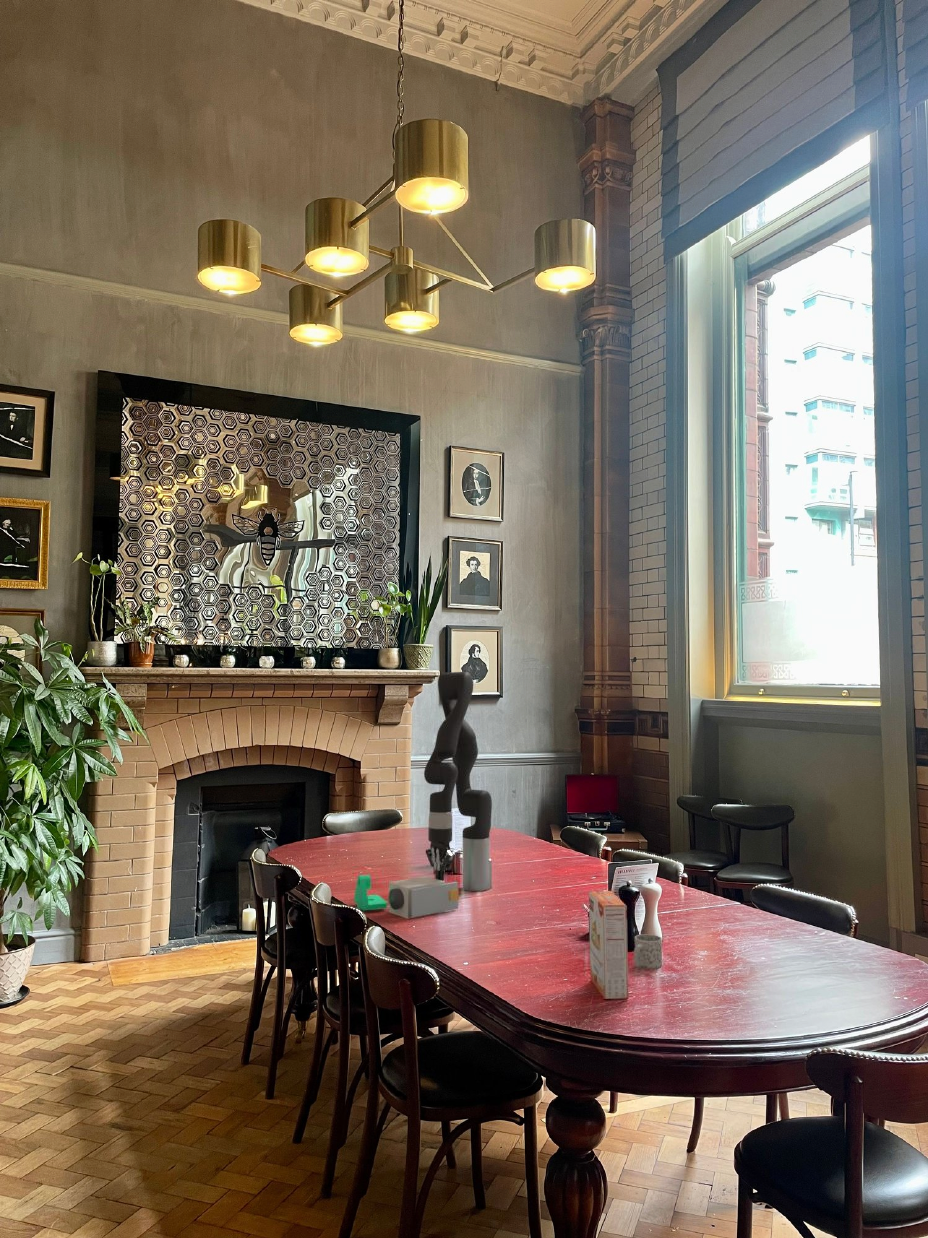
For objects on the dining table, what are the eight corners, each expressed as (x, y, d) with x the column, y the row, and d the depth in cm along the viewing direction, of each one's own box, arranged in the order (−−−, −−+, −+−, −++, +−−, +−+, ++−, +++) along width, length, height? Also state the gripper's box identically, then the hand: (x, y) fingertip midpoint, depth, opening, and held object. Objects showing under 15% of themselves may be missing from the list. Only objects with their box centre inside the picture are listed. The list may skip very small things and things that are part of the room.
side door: (456, 908, 285) (456, 881, 285) (459, 909, 283) (459, 882, 284) (408, 917, 274) (408, 890, 274) (412, 918, 272) (412, 891, 273)
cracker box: (588, 980, 218) (587, 890, 219) (613, 979, 219) (612, 890, 220) (602, 1001, 204) (601, 905, 206) (629, 1000, 205) (628, 904, 206)
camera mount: (387, 912, 283) (388, 878, 283) (363, 914, 280) (363, 879, 281) (377, 903, 294) (377, 870, 295) (354, 905, 291) (354, 872, 292)
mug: (643, 959, 234) (642, 933, 235) (666, 964, 230) (666, 937, 231) (623, 969, 227) (623, 941, 227) (647, 974, 223) (647, 946, 223)
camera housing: (425, 905, 290) (425, 876, 291) (445, 911, 283) (445, 881, 283) (384, 913, 281) (385, 883, 281) (403, 919, 273) (403, 888, 273)
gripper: (462, 827, 287) (462, 884, 286) (437, 822, 298) (436, 877, 296) (443, 829, 283) (442, 887, 281) (418, 824, 293) (417, 880, 292)
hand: (439, 882), depth 289 cm, fingers closed
